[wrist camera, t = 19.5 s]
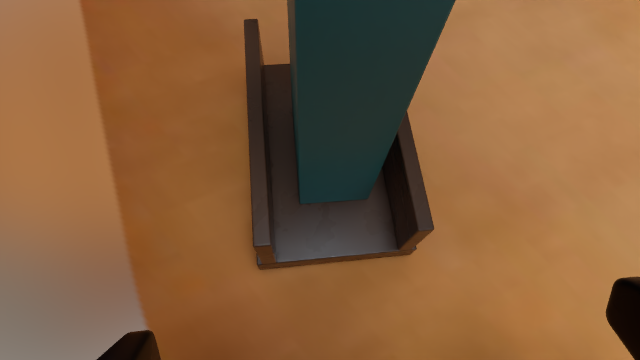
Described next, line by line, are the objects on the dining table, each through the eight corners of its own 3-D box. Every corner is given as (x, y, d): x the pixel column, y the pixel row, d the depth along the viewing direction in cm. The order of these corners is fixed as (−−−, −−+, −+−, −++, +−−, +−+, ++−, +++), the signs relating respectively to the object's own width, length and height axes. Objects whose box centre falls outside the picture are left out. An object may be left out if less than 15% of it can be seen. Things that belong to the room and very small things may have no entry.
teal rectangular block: (368, 199, 17) (529, -162, 5) (299, 204, 17) (290, -162, 5) (353, 103, 19) (443, -324, 7) (291, 106, 18) (272, -330, 7)
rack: (411, 254, 17) (440, 228, 13) (259, 269, 16) (247, 247, 13) (373, 70, 21) (389, 12, 17) (250, 78, 20) (238, 19, 17)
